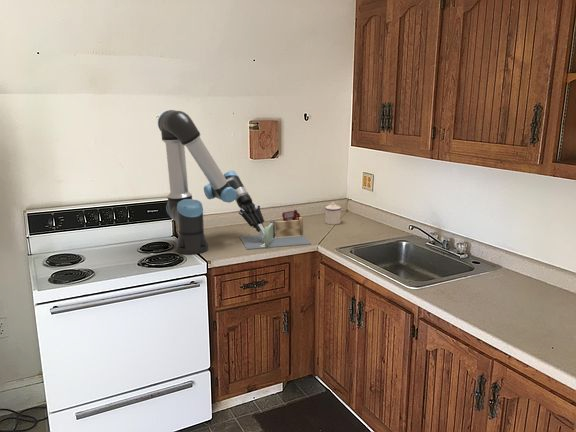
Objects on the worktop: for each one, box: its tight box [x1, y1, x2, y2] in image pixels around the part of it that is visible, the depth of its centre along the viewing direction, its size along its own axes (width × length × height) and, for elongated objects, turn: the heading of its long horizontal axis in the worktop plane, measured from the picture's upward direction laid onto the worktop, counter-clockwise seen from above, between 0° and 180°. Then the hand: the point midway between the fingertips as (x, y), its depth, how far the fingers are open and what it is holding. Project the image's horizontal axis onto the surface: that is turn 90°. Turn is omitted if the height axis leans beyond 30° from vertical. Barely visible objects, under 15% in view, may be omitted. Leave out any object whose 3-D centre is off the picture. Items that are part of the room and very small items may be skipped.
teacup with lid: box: [324, 202, 342, 226], centre depth 286 cm, size 12×9×12 cm
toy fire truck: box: [281, 209, 302, 221], centre depth 273 cm, size 7×12×10 cm, turn 127°
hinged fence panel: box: [264, 222, 273, 246], centre depth 248 cm, size 14×2×9 cm, turn 171°
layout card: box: [239, 232, 312, 251], centre depth 254 cm, size 32×22×1 cm
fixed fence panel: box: [269, 216, 304, 238], centre depth 258 cm, size 17×2×10 cm, turn 104°
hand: (264, 236), depth 248 cm, fingers closed
